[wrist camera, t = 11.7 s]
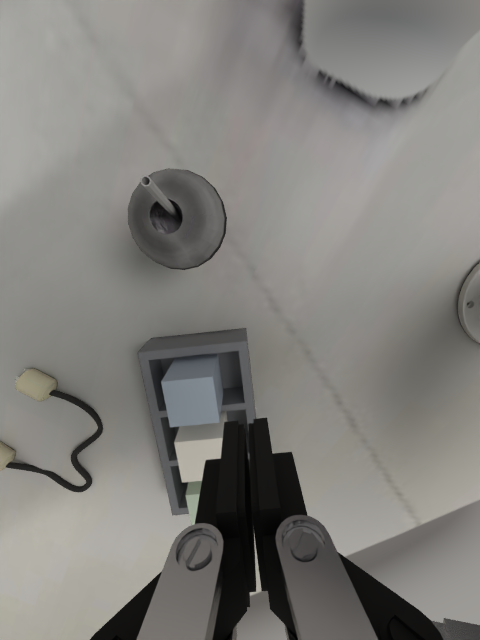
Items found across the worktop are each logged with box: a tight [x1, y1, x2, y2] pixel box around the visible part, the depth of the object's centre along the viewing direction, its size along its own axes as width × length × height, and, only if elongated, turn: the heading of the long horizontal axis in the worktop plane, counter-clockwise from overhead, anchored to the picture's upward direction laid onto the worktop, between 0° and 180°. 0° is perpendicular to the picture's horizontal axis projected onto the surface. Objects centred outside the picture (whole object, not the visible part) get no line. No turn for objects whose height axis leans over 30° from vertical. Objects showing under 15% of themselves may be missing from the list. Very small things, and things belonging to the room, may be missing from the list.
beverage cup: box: [128, 169, 227, 270], centre depth 23 cm, size 7×7×20 cm
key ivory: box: [174, 411, 228, 483], centre depth 33 cm, size 5×5×6 cm
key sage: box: [186, 481, 202, 526], centre depth 35 cm, size 5×5×6 cm
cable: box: [0, 368, 103, 492], centre depth 39 cm, size 16×16×4 cm
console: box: [138, 328, 256, 515], centre depth 37 cm, size 12×22×5 cm, turn 6°
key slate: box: [161, 354, 223, 427], centre depth 31 cm, size 5×5×6 cm
